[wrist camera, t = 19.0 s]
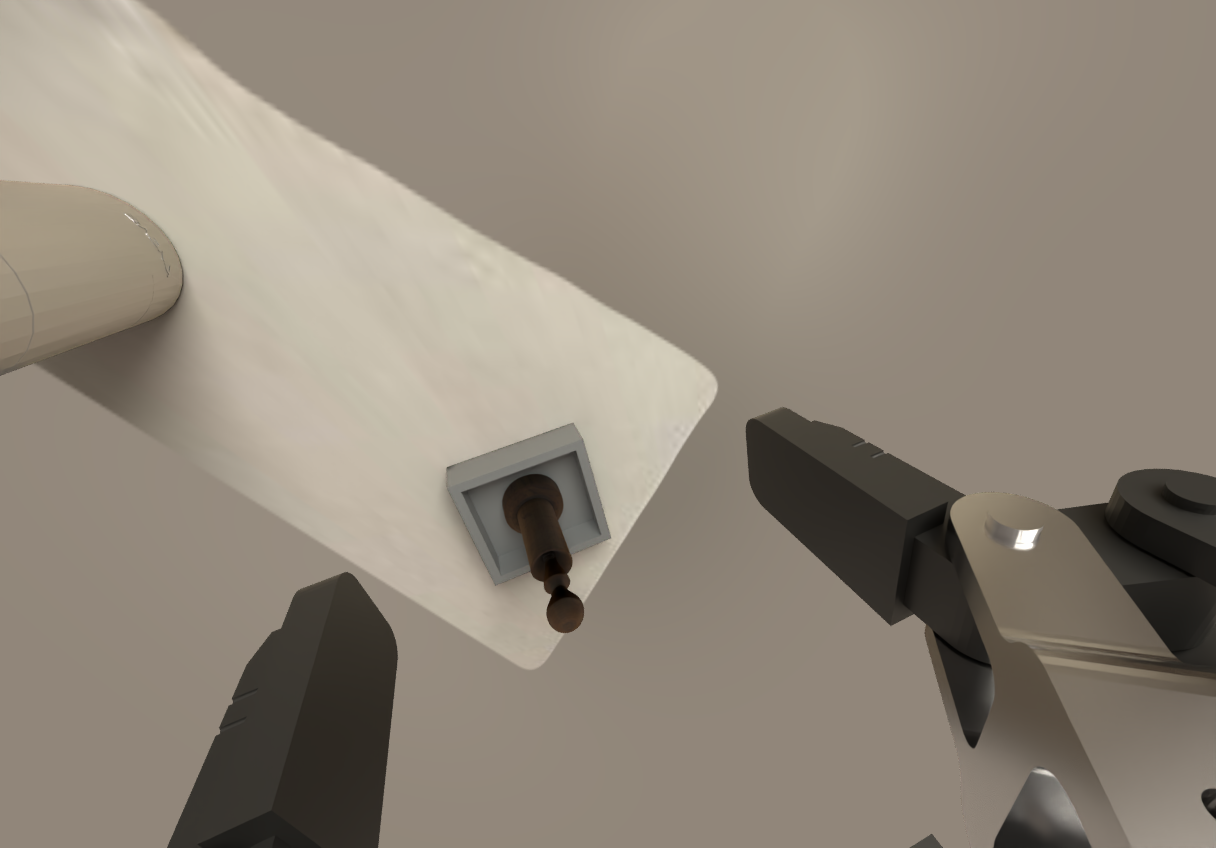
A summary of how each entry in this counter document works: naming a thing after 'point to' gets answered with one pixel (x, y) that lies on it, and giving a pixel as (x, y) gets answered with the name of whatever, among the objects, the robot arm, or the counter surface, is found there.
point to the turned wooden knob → (544, 544)
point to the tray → (491, 474)
